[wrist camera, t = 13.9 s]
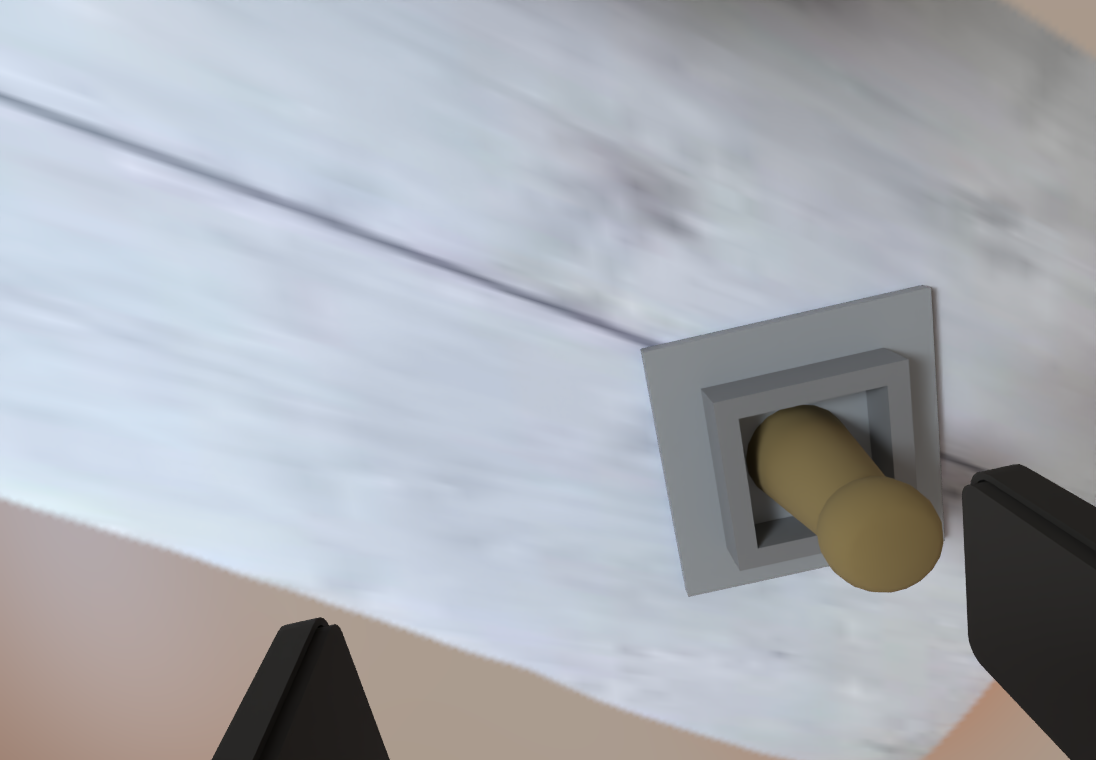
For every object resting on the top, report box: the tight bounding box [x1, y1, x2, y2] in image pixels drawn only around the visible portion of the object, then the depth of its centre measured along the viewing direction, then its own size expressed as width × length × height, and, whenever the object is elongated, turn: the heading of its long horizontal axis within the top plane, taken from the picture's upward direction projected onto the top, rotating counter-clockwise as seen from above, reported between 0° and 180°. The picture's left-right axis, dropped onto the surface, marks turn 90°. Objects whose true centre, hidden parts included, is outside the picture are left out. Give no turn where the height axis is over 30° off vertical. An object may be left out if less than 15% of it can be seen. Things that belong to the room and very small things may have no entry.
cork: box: [746, 405, 943, 592], centre depth 34 cm, size 6×6×11 cm
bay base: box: [641, 285, 945, 597], centre depth 39 cm, size 16×16×3 cm
